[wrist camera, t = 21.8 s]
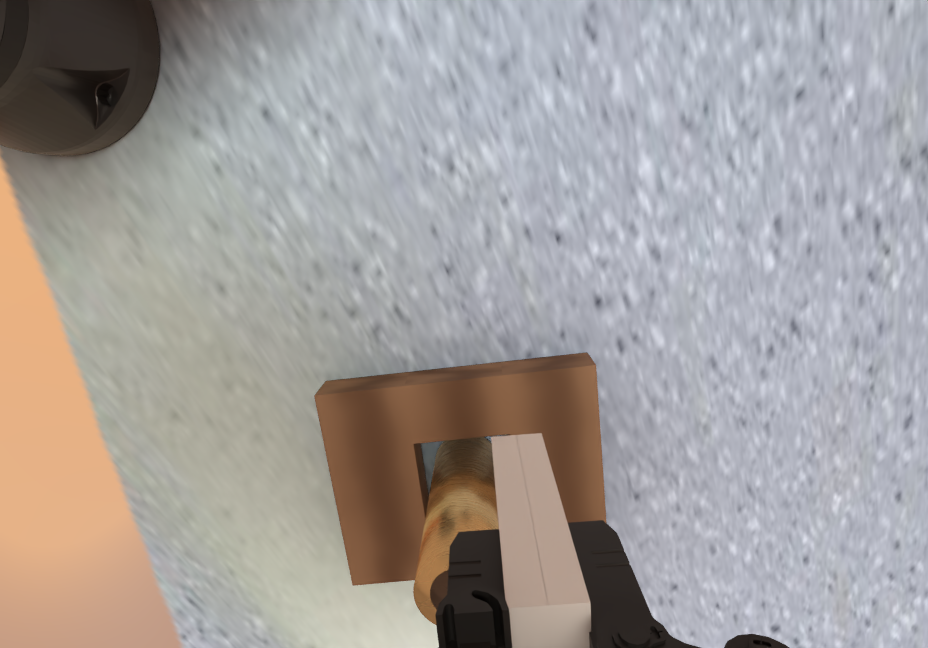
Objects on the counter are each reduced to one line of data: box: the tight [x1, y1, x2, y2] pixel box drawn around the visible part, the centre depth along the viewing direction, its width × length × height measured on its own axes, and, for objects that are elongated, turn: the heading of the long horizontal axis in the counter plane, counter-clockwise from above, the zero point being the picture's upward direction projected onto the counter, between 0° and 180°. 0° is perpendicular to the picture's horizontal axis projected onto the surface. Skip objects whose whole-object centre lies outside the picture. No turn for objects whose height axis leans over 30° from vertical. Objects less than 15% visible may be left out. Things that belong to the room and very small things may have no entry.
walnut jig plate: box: [314, 353, 606, 585], centre depth 41 cm, size 20×16×3 cm
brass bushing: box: [414, 437, 499, 625], centre depth 35 cm, size 5×5×14 cm
